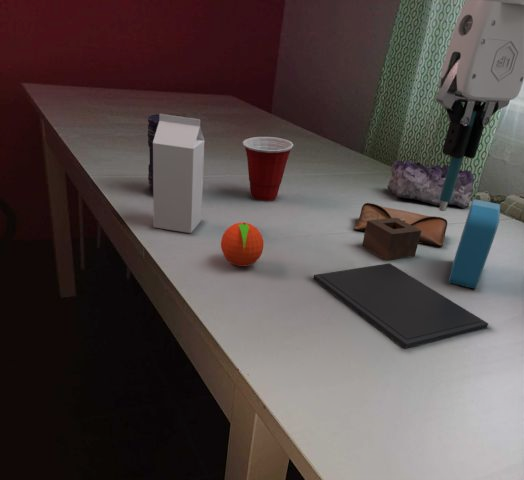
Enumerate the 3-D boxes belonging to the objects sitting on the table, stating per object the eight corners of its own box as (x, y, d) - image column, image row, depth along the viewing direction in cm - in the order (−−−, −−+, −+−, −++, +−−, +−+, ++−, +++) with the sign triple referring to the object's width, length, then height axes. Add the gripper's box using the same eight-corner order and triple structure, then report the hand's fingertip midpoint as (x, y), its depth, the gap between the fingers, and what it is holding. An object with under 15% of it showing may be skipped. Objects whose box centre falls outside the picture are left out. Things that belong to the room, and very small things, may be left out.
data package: (453, 261, 99) (473, 196, 93) (478, 266, 98) (500, 202, 92) (447, 285, 90) (469, 215, 83) (475, 292, 89) (499, 221, 82)
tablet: (388, 267, 94) (389, 262, 93) (487, 328, 78) (489, 322, 78) (313, 279, 87) (313, 273, 86) (404, 348, 71) (406, 343, 70)
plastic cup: (228, 193, 121) (232, 137, 114) (263, 187, 127) (269, 134, 121) (261, 207, 114) (267, 149, 108) (296, 200, 121) (304, 145, 115)
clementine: (263, 277, 85) (268, 234, 81) (219, 274, 84) (222, 231, 81) (260, 257, 92) (264, 216, 88) (219, 254, 91) (221, 213, 87)
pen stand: (390, 242, 104) (396, 217, 102) (414, 256, 100) (421, 230, 97) (361, 245, 101) (367, 220, 99) (385, 260, 96) (392, 234, 94)
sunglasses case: (353, 228, 107) (361, 195, 107) (354, 236, 114) (362, 205, 114) (444, 247, 104) (453, 213, 103) (440, 253, 111) (448, 221, 110)
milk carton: (191, 234, 98) (194, 122, 87) (153, 228, 98) (152, 117, 88) (201, 221, 104) (205, 116, 93) (165, 216, 104) (166, 110, 94)
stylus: (442, 208, 76) (470, 109, 69) (449, 211, 75) (479, 111, 68) (434, 208, 75) (462, 109, 68) (442, 212, 74) (471, 111, 67)
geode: (464, 198, 137) (479, 160, 130) (469, 218, 128) (485, 178, 122) (385, 184, 138) (396, 145, 132) (384, 202, 130) (396, 162, 123)
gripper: (482, -19, 55) (434, 165, 65) (577, -2, 62) (520, 162, 72) (432, -20, 61) (394, 149, 70) (524, -5, 67) (478, 148, 77)
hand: (458, 154), depth 71 cm, fingers closed on stylus, 1 cm apart
